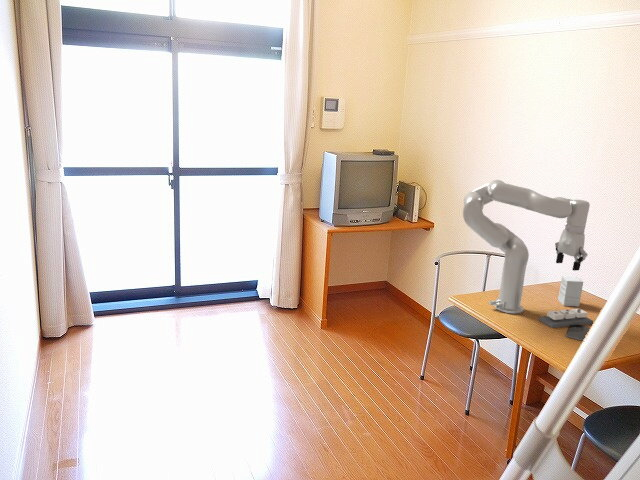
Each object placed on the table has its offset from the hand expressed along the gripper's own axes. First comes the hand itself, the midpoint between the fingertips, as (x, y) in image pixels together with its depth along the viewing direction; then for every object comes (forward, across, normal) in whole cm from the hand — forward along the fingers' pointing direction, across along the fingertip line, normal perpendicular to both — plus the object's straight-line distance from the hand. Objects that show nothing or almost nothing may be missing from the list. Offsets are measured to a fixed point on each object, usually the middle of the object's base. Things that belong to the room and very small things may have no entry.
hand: (567, 266), depth 218 cm
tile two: (+20, +8, -3) cm, 22 cm away
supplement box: (+23, -10, +15) cm, 29 cm away
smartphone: (+23, +17, -6) cm, 30 cm away
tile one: (+20, +7, -9) cm, 23 cm away
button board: (+23, +8, -3) cm, 24 cm away
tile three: (+20, +8, +3) cm, 22 cm away
